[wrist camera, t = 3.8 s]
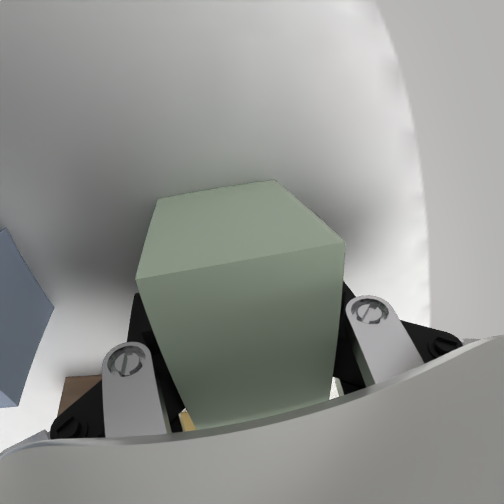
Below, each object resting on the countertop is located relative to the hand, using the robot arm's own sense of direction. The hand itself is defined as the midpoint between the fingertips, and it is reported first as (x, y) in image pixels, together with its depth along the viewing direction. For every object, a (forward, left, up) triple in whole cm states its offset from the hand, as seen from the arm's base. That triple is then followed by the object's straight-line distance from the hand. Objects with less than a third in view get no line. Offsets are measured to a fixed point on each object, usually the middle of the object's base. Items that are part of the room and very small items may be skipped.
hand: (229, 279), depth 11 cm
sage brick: (0, 0, 0) cm, 0 cm away
